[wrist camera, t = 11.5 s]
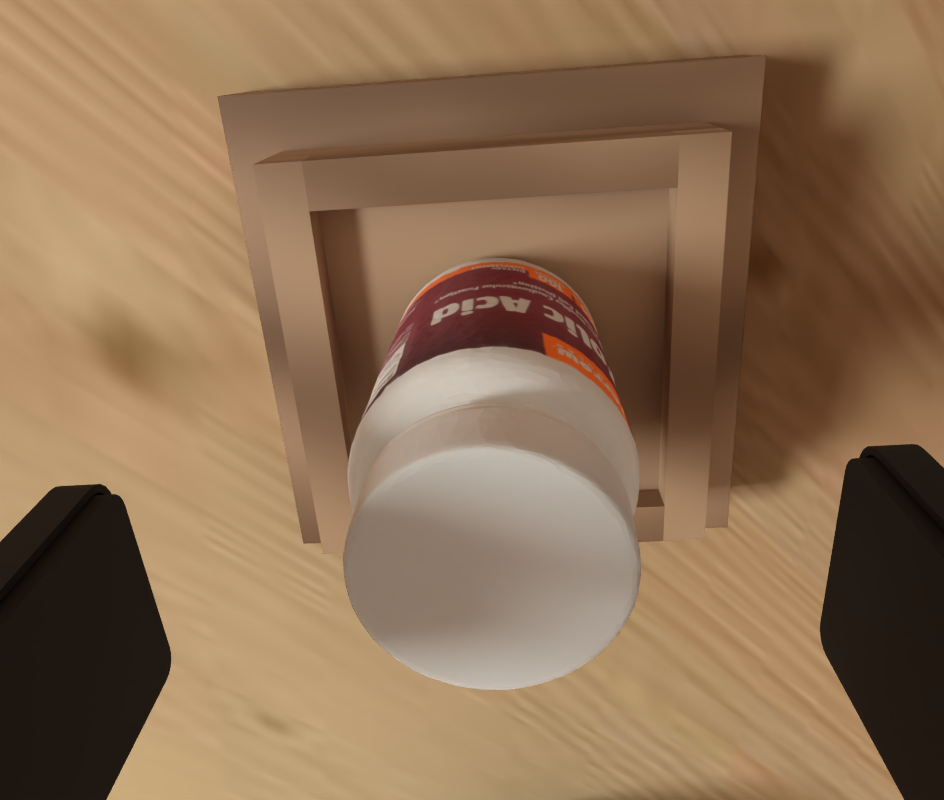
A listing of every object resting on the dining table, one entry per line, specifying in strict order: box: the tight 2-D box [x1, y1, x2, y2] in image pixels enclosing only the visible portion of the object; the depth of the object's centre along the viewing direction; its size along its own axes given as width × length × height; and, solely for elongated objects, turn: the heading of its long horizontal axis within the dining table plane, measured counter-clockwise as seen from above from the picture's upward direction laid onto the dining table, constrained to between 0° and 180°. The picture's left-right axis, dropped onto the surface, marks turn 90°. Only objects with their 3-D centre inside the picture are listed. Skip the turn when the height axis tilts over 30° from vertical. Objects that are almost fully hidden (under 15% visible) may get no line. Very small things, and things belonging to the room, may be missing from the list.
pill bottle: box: [343, 258, 641, 690], centre depth 14 cm, size 5×5×8 cm
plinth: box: [218, 55, 766, 554], centre depth 19 cm, size 12×12×4 cm
